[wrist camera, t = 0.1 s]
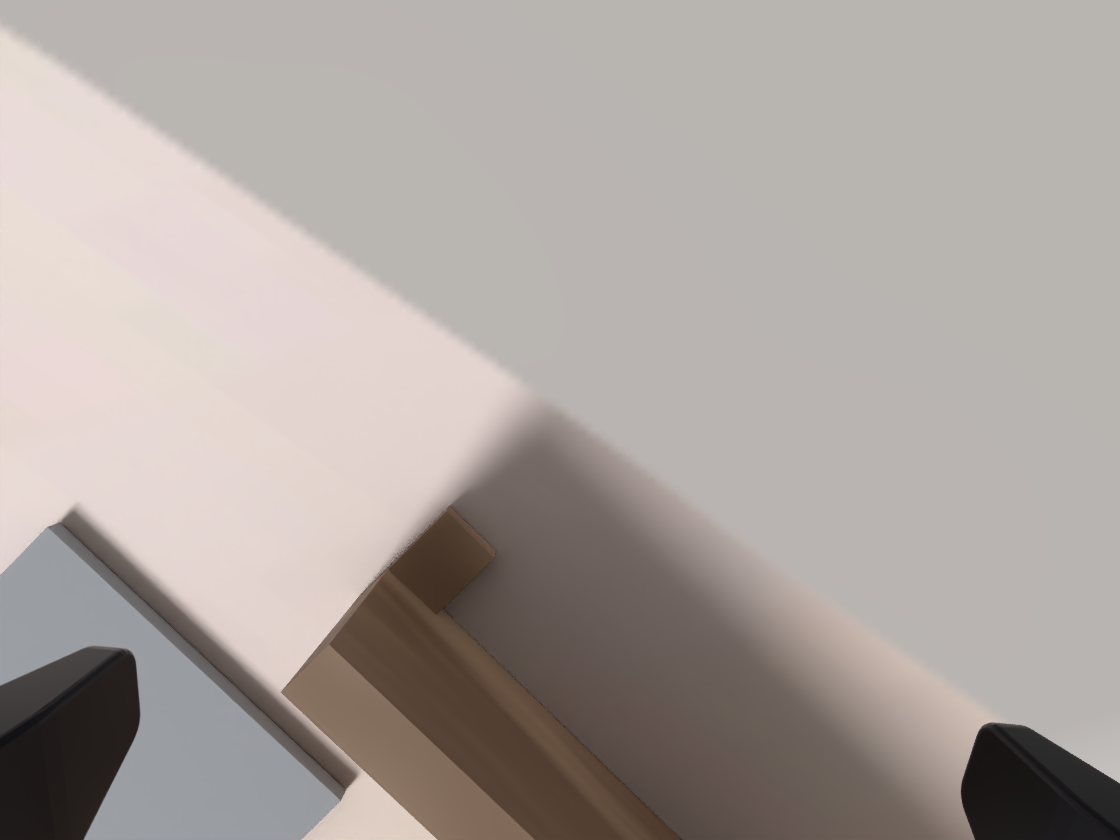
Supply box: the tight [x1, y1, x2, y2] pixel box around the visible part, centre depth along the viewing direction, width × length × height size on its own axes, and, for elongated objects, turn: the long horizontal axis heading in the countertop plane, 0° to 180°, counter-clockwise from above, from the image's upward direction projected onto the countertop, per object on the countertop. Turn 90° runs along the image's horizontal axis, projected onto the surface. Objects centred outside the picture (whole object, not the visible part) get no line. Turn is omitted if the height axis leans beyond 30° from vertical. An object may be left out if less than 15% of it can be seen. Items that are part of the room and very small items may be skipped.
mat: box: [0, 523, 346, 840], centre depth 24 cm, size 12×12×1 cm
